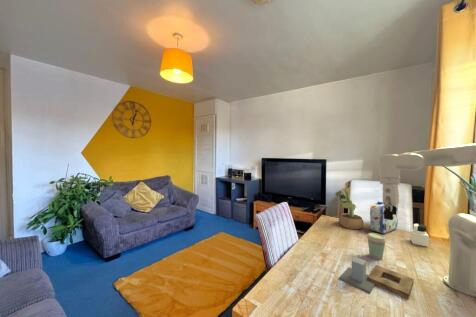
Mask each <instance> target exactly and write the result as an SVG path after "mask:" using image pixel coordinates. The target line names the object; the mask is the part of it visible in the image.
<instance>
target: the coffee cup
mask: <svg viewBox="0 0 476 317" xmlns="http://www.w3.org/2000/svg"><path fill="white" fill-rule="evenodd" d="M366 237H367V238H366V239H367V242H368V243H367V244H368V252H369V253H368V255H369V257H370V258H372V259H374V260H376V261H377V260H378V261H381V260H383V256H384V251H385V245H386V242H387V238H386V237H385V236H384V234H381V233H378V232H376V233H375V232H368V234H367V236H366Z"/></svg>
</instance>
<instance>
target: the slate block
mask: <svg viewBox="0 0 476 317" xmlns="http://www.w3.org/2000/svg"><path fill="white" fill-rule="evenodd" d="M351 268H352V273H351V278H353V279H355V280H357V281H360V282H362V283H363V282H364V280H365V279H366V274H367V260H364V259H362V258H359V257H356V256H355V257H354V258H353V259H352V260H351Z"/></svg>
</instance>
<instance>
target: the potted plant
mask: <svg viewBox="0 0 476 317" xmlns="http://www.w3.org/2000/svg"><path fill="white" fill-rule="evenodd" d="M345 192H346V193H345ZM334 195H335V196H336V197H340V196H341V195H343V197H344V198H341V199H340V201H341V202H342V201H343V203H342V204H341V207H343V208H344V209H348V210H349V211H348V213H346V212H345V213H341V214H340V216H339V218H338V222H339V225H341V226H342V227H344V228H346V229H350V230H361V229H362V228H364V225H365V221H364V220H363V217H362V216H360V215H358V214H354V211H355V209H356V204H354V203H353V202H352V200H351V198H350V194H349V189H348V188H346V191H344V190H342V189H339V191H337V192H336V193H335V194H334Z"/></svg>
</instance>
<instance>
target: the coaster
mask: <svg viewBox="0 0 476 317" xmlns="http://www.w3.org/2000/svg"><path fill="white" fill-rule="evenodd" d="M351 273H352V267H349V266H348V267H347V268H346V269H345V270H344V272H342V274H341V275H340V276H338V280H340V281H342V280H343V281H342V282H344V281H345V282H344V283H347V284H349V285H351V286H353V287H355V288H356V289H359V290H361V291H364V292H366V293H368V294H371V293H372V290H373V289H374V288H375V286H376V285H375V283H374V282H372V281H370V280H367V277H368V275H369V274H367V273H366V279H365V280H364V282H363V283H362V282H360V281H357V280H355V279H353V278H351Z"/></svg>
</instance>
